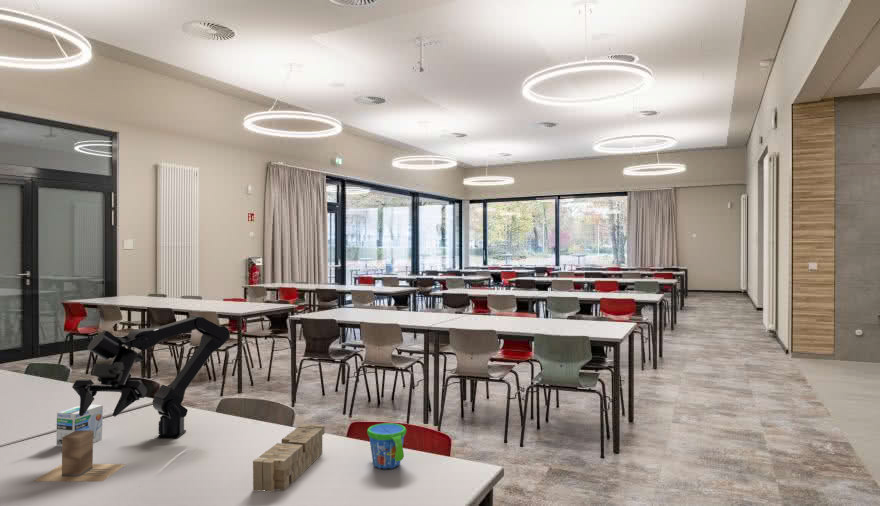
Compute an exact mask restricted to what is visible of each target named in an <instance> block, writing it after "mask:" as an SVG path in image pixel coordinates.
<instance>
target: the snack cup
mask: <svg viewBox="0 0 880 506" xmlns="http://www.w3.org/2000/svg"><path fill="white" fill-rule="evenodd" d="M366 434H367V436H368V438H369V444H370V452H371V460H372V464H373V465H374V467H375V468H378V469H380V468H383V469H382V470H388V469H387V468H390V469H394V468H397V467H398V466H399V465H400V464H401V461H403V459H404V457H405V453H404V448H403V447H404V446H403V445H404V441H405V440H404V439H405V436H406V434H407V429H406V426H404V425H402V424H399V423H390V422H384V423H377V424H374V425H371V426H369V427H368V428H367V431H366ZM396 466H397V467H396Z"/></svg>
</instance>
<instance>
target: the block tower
mask: <svg viewBox="0 0 880 506" xmlns="http://www.w3.org/2000/svg"><path fill="white" fill-rule="evenodd" d="M325 428H326V427H325V425H324V424H323V425H322V424H302V423H301V424H299V425H298V426H297V427H296V428H295V429H294V430H293V431H291V432H289V433H288V434H287V435H286V436H284V437H282V438H281V442H276V443H275V444H274V445H272V447H271V448H269V449H267V450H265V452H263V453H262V454H261V455H260V456H258V457H257V458H255V459H254V460H252V490H253V491H254V490H265V491H264V492H266V491H273V490H274V489H280V490H279V491H286V489H287V488H288V487H290V484H292V483H293V482H295V481H296V480H297V479H298V478H299V477H300V476H301V475H302V474H303V473H304V472H305V471H306V470H307V469H308V468H309V467H310V466H311V465H312V464H313V463H314V462H316V460H317V459H318V458H319V457H320V456H321V455H322V454H323V435H325V431H326V430H325ZM321 453H322V454H321ZM320 454H321V455H320ZM319 455H320V456H319ZM317 457H318V458H317ZM315 459H316V460H315ZM309 465H310V466H309ZM308 466H309V467H308ZM294 480H295V481H294ZM274 491H275V490H274ZM274 491H273V492H274Z"/></svg>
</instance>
